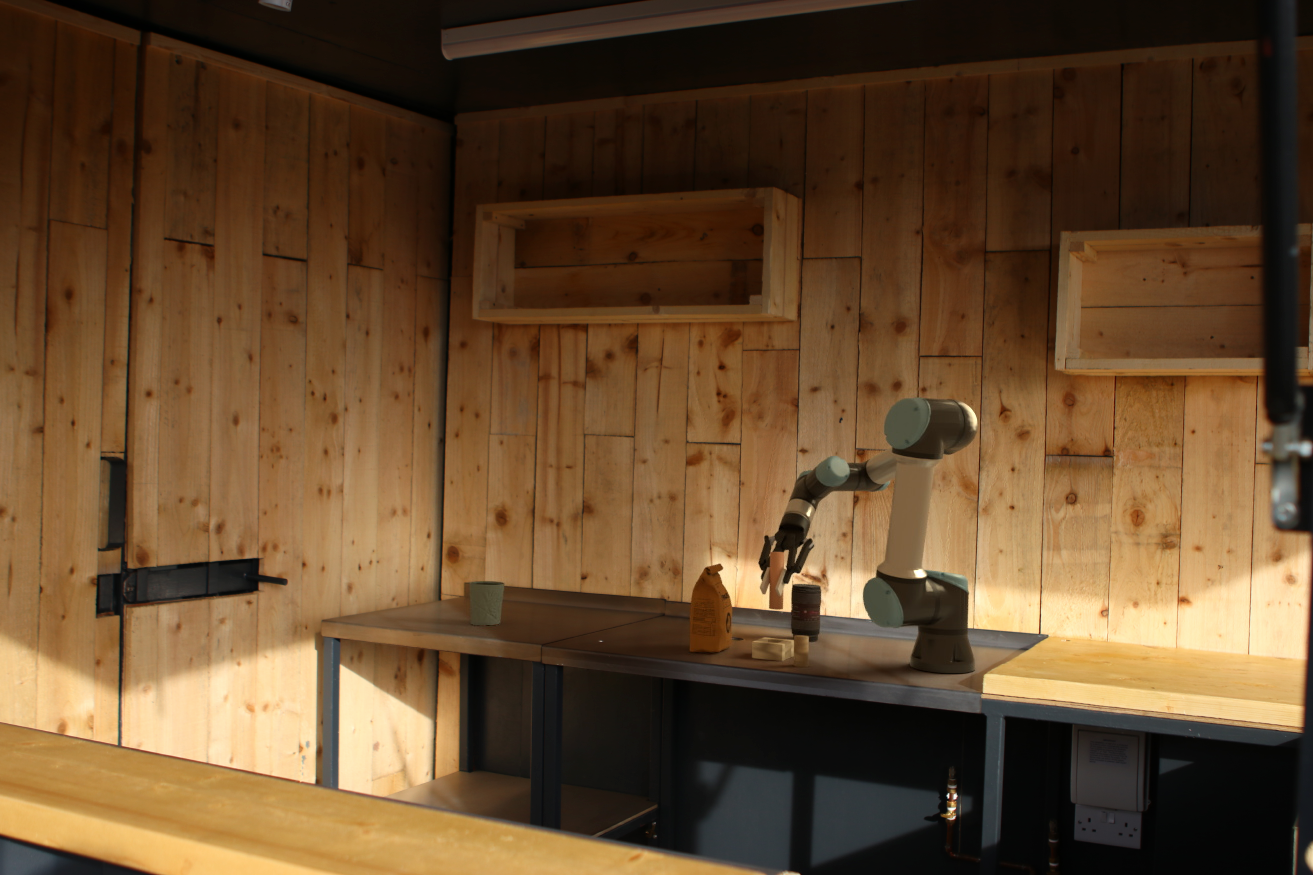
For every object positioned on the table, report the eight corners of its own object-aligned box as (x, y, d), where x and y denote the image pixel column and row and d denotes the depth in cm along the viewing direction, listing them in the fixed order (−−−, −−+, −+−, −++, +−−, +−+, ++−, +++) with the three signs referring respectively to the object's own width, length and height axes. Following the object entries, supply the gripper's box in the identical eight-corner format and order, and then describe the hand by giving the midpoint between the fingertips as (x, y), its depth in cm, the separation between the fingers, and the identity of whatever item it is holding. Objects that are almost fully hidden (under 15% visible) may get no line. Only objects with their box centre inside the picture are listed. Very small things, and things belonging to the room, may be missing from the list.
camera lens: (819, 642, 300) (820, 587, 300) (789, 641, 302) (790, 586, 302) (821, 638, 308) (822, 583, 308) (792, 636, 310) (792, 582, 310)
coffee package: (738, 648, 290) (739, 563, 290) (719, 656, 278) (721, 568, 279) (702, 645, 294) (704, 561, 294) (683, 652, 283) (684, 565, 283)
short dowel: (810, 665, 268) (810, 636, 268) (805, 667, 265) (805, 638, 265) (796, 663, 270) (797, 634, 270) (791, 666, 267) (791, 636, 267)
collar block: (793, 656, 280) (793, 640, 280) (782, 660, 273) (782, 644, 273) (764, 652, 284) (764, 637, 284) (752, 657, 277) (752, 641, 277)
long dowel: (785, 608, 280) (786, 552, 280) (779, 609, 277) (781, 553, 277) (772, 606, 282) (773, 551, 281) (766, 608, 278) (768, 552, 278)
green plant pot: (463, 622, 326) (463, 581, 326) (494, 620, 331) (495, 579, 331) (477, 627, 317) (478, 585, 317) (509, 625, 323) (510, 583, 323)
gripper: (830, 532, 288) (805, 604, 274) (771, 528, 296) (743, 598, 282) (823, 512, 284) (797, 584, 269) (763, 509, 292) (735, 579, 277)
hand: (770, 591), depth 276 cm, fingers closed on long dowel, 3 cm apart
